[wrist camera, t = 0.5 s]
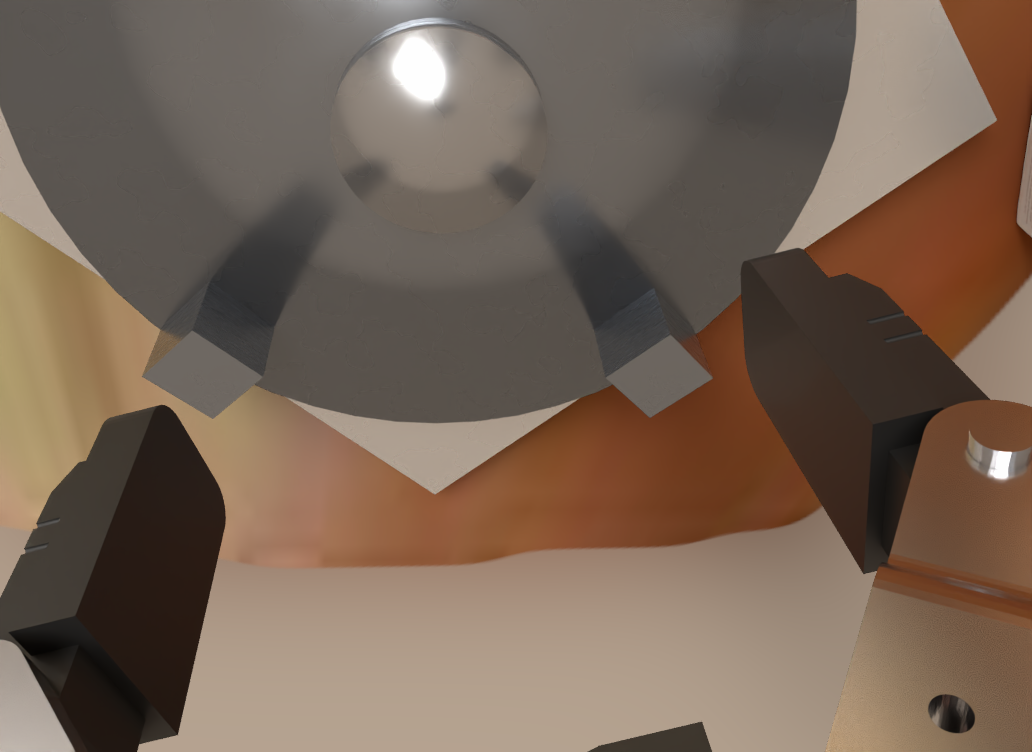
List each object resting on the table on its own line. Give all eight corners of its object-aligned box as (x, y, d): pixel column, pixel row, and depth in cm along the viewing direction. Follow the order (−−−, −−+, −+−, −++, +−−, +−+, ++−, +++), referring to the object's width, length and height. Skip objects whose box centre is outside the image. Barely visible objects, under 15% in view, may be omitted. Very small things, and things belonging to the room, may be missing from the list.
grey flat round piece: (450, -859, 16) (456, -1022, 12) (959, 122, 31) (1035, 189, 27) (-160, 79, 27) (-261, 151, 23) (435, 476, 42) (435, 561, 38)
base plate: (450, -963, 16) (456, -1171, 12) (977, 104, 33) (1057, 169, 28) (-186, 57, 28) (-292, 126, 24) (434, 473, 44) (435, 557, 40)
